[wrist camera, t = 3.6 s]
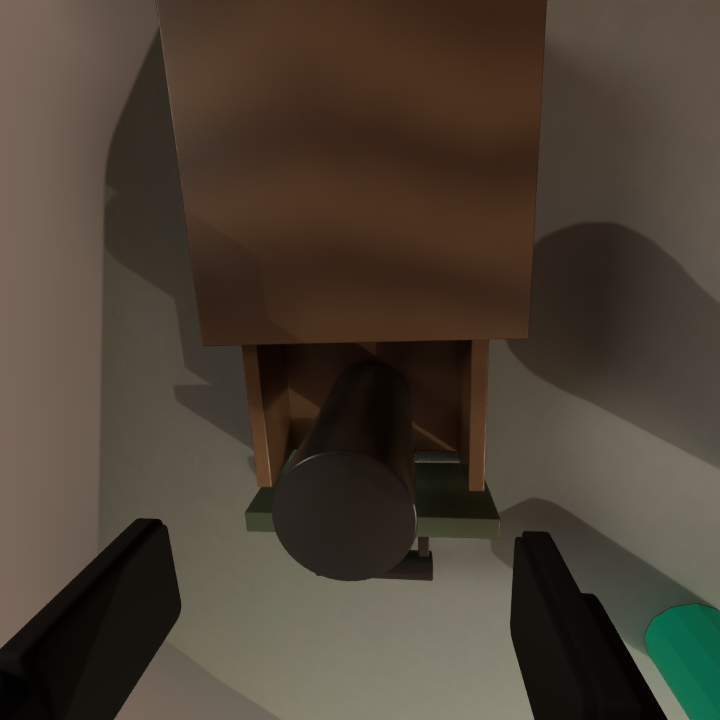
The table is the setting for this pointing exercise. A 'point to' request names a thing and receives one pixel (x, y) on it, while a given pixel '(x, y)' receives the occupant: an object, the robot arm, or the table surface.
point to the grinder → (352, 480)
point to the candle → (689, 657)
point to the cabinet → (357, 165)
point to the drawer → (429, 424)
